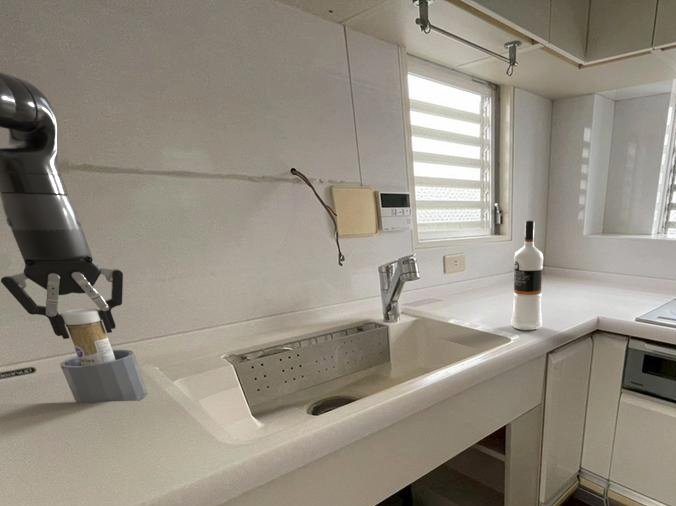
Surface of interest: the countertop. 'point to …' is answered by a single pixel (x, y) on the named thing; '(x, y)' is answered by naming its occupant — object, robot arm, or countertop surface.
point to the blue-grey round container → (105, 379)
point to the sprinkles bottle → (88, 336)
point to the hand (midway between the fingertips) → (88, 334)
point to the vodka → (527, 283)
